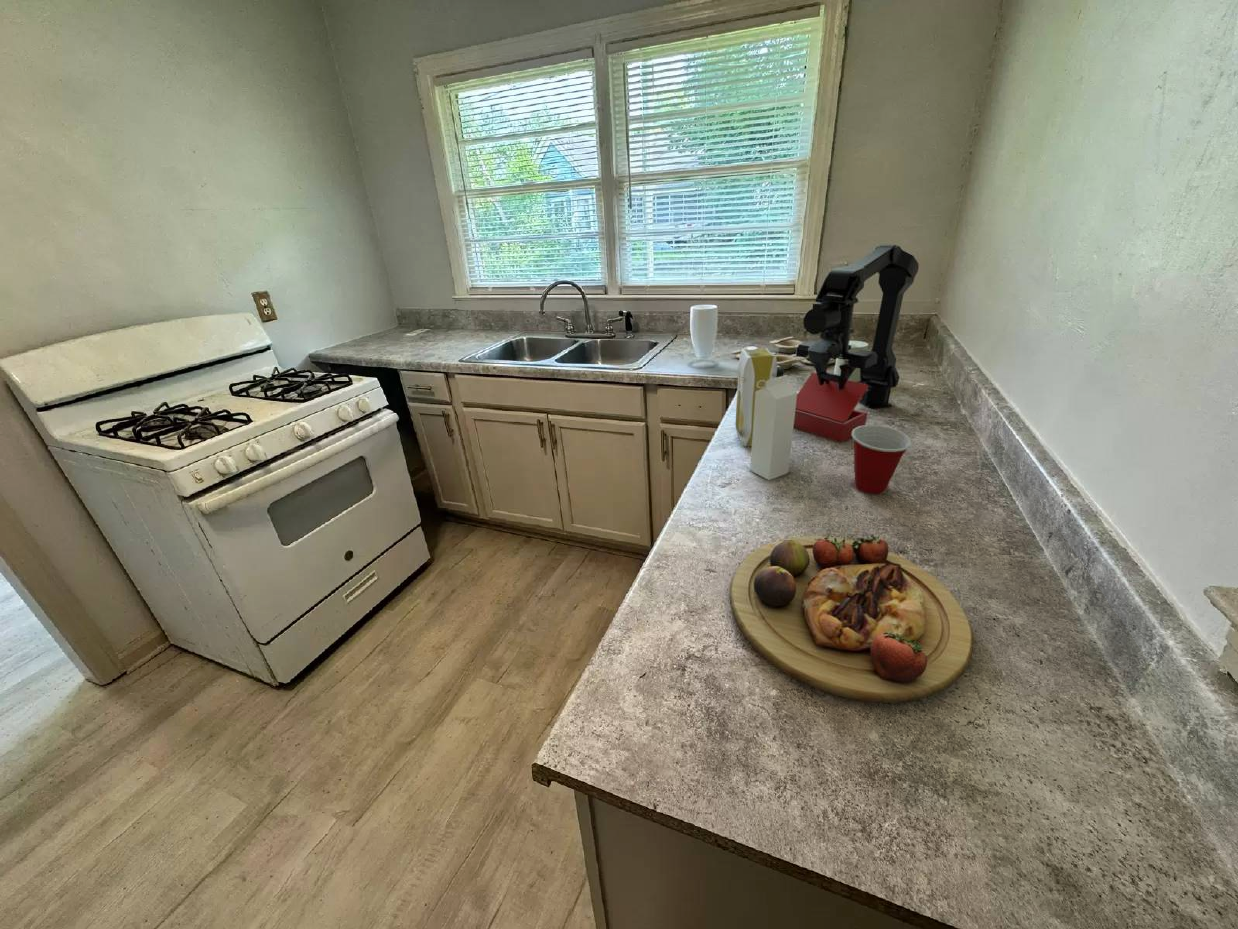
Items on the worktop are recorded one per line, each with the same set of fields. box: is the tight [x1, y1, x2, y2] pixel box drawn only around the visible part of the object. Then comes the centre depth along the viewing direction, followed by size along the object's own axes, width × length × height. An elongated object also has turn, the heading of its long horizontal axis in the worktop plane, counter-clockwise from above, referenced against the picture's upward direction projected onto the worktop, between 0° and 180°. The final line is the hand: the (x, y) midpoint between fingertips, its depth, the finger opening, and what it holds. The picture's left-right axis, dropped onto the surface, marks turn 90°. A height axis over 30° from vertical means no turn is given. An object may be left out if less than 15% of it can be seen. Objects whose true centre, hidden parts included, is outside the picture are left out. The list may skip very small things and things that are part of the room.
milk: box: [749, 374, 798, 481], centre depth 106 cm, size 6×6×22 cm
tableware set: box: [731, 336, 836, 370], centre depth 189 cm, size 35×29×4 cm
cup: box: [689, 304, 719, 359], centre depth 186 cm, size 10×10×22 cm
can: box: [833, 340, 869, 383], centre depth 163 cm, size 9×9×12 cm
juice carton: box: [735, 346, 777, 447], centre depth 121 cm, size 9×8×24 cm
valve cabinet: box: [793, 409, 868, 443], centre depth 130 cm, size 11×16×5 cm
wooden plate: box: [729, 533, 974, 704], centre depth 71 cm, size 32×32×8 cm
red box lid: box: [796, 372, 869, 424], centre depth 125 cm, size 11×16×5 cm
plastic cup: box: [851, 424, 913, 495], centre depth 100 cm, size 11×11×12 cm
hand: (830, 387), depth 126 cm, fingers closed on red box lid, 5 cm apart
